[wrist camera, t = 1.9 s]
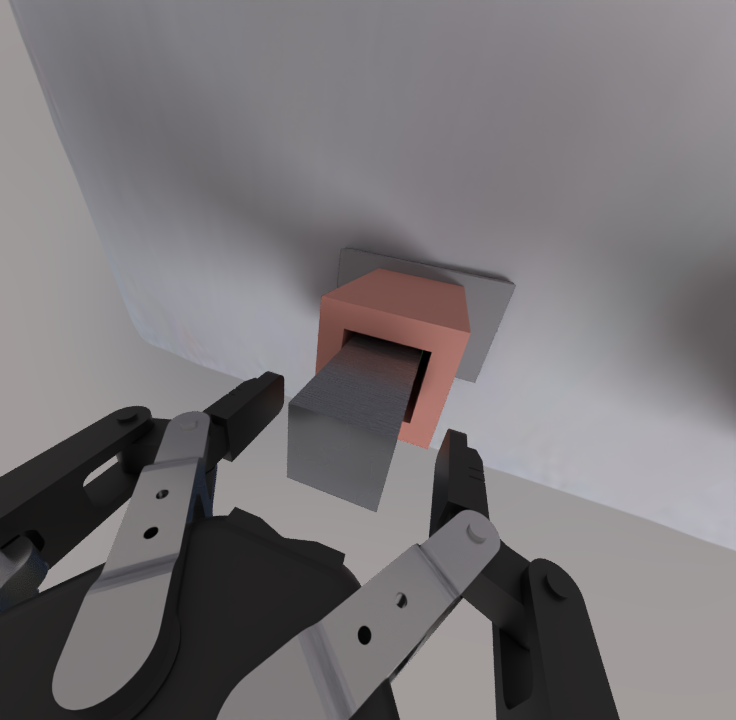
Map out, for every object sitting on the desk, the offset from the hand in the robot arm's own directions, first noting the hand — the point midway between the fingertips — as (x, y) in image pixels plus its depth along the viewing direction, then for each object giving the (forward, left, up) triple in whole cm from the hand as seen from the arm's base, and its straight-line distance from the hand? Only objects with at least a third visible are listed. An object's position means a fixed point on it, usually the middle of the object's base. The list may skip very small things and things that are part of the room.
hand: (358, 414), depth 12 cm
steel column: (0, 0, -16) cm, 16 cm away
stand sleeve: (0, 0, -18) cm, 18 cm away
